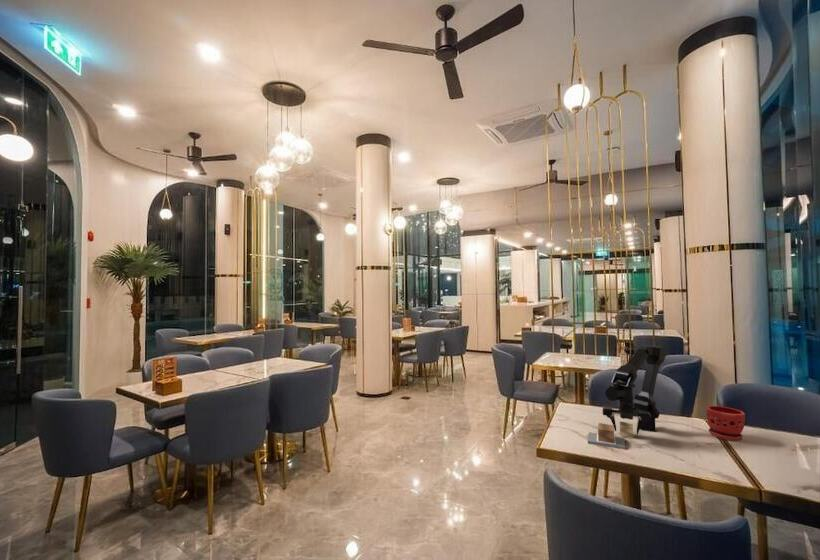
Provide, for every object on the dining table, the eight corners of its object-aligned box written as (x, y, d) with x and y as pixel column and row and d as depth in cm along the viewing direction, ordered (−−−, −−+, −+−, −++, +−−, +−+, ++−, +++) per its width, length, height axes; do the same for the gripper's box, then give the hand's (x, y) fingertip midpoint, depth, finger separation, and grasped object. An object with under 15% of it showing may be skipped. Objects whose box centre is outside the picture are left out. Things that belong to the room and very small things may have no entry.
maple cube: (632, 434, 174) (632, 423, 174) (633, 438, 169) (632, 426, 169) (619, 432, 176) (619, 421, 176) (620, 436, 172) (619, 424, 172)
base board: (624, 439, 167) (624, 436, 167) (625, 449, 158) (625, 446, 158) (588, 434, 174) (588, 431, 174) (587, 443, 164) (587, 440, 164)
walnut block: (614, 436, 168) (613, 425, 168) (614, 443, 161) (614, 431, 161) (598, 434, 170) (598, 423, 171) (598, 440, 163) (598, 429, 163)
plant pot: (747, 445, 161) (746, 416, 161) (707, 437, 169) (706, 410, 169) (744, 435, 171) (743, 408, 171) (707, 429, 179) (706, 403, 179)
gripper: (602, 399, 170) (602, 435, 170) (651, 405, 162) (652, 442, 161) (602, 393, 180) (603, 427, 180) (649, 398, 171) (650, 433, 171)
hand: (626, 432), depth 173 cm, fingers open, 8 cm apart
